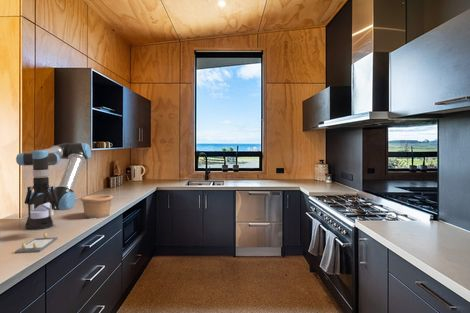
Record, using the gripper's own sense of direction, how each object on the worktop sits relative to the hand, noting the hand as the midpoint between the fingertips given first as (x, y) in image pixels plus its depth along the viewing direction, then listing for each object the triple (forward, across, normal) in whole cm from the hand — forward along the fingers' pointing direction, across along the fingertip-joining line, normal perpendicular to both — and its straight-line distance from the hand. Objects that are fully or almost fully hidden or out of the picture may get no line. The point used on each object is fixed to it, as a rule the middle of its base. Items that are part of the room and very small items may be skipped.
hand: (42, 215), depth 177 cm
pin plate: (+12, +6, -20) cm, 23 cm away
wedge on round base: (+1, 0, 0) cm, 1 cm away
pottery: (+13, +17, +47) cm, 52 cm away
